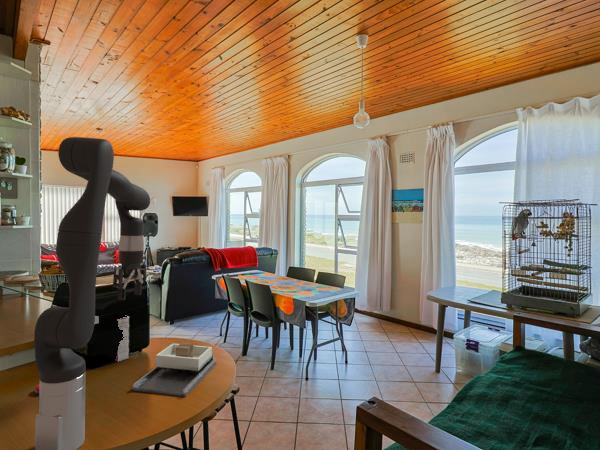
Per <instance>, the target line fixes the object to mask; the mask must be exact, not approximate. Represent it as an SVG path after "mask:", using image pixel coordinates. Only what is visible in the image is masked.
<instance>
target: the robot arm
mask: <svg viewBox="0 0 600 450" xmlns="http://www.w3.org/2000/svg"><path fill="white" fill-rule="evenodd" d="M57 153H58V154H57V155H58V160H59V162H60V164H61V166H62V167H63V168H64V169H65V170H66V171H68V173H70V174H73V175H76V176H78V177H79V178H81V179H84V180H86V181H87V183H86V186H85V189H84V191H83V193H82V194H81V196H80V198H79V199H78V200H77V201H76V202H75V203H74V205H72V207H71V208H70V209H69V210H68V212H66V214H65V215H64V216H63V218H62V219H61V221H60V223H59V225H58V230H57V237H56V243H55V244H56V246H55V253H56V259H57V261H58V263H59V266H60V268H61V270H62V272H63V273H64V276H65V279H66V281H67V285H68V289H69V302H68V307H64V306H62V307H61V306H53V307H48V308H47V309H45V310H44V311H43V312H41V313H40V315H39V316H38V318H37V320H36V322H35V325H34V335H33V343H34V355H35V358H34V359H35V367H36V370H37V372H38V374H39V375H38V376H39V384H40V392H39V394H38V396H39V401H38V402H39V403H38V404H39V405H38V406H39V407H38V409H39V410H38V411H39V412H38V413H37V414H35V425H34V426H35V431H34V432H35V436H34V438H35V442H34V443H35V444H34V445H35V447H34V450H79V448H81V447H82V446H83V444H84V443H85V439H86V438H85V437H86V370H87V369H86V360H85V358H84V357H82V356H80V355H79V354H77V353H75V351H73V350H79V349H82V348H84V347H85V346H86V345H87V344H88V343H89V342H90V340H91V338H92V335H93V332H94V329H95V328H94V327H95V320H96V287H97V286H96V285H97V283H96V282H97V274H98V265H99V255H100V251H101V246H102V245H101V243H102V235H103V224H104V217H105V215H104V214H105V207H106V201H107V197H108V195H109V196H110V197H112V198H113V199H114V202H115V207H116V210H117V214H118V218H119V223H120V230H119V232H120V233H119V235H120V236H119V241H118V242H119V243H118V263H119V264H120V265H121V266H120V268H114V269H113V278H112V279H113V280H112V287H113V288H115V289H116V288H117V299H118V301H125V300H126V299H127V298H126V295H127V294H126V293H127V289H126V287H127V286H128V284H129V283H130V282H131V281H132V280H133V282H134V295H135V296H140V295H142V291H143V290H142V289H143V287H142V285H143V284H144V282H147V264H143V262H144V254H145V253H144V251H145V250H144V249H145V245H144V244H145V241H144V220H143V219H142V218H139V217H135V216H133V215H132V214H131V211H135V212H137V211H139V212H141V211H145V210H146V209H148V208H149V207H150V204H151V198H150V195H149V193H148V191H146V190H145V189H144V188H142V187H141V186H139V185H137V184H135V183H132V182H131V181H130V180H129V179H128V178H127V177H126V176H125V175H124V174H122V173H121V172H119V171H117V170H115V169H113V168H114V161H115V160H114V159H115V153H114V148H113V144H111V142H110V141H109V140H107V139H106V138H105V139H104V138H96V137H82V136H72V137H71V136H69V137H66V138H64V139H63V140H62V141H61V142H60V144H59V147H58V152H57Z"/></svg>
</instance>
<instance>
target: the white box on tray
mask: <svg viewBox="0 0 600 450" xmlns="http://www.w3.org/2000/svg"><path fill="white" fill-rule="evenodd" d="M180 344H181V343H171V344H170V345H169V346H167V347H165V348H164V349H163V350H161V351H159V353H157V354H155V367H162V369H163V370H166V369H167V368H174V369H184V370H191V371H192V372H193V373H196V372H197V371H199V370H200V369H201V368H202V367H203V366H204V365H205V364H206V363H207V362H208V361H209V360H210V359H211V358H212V354H213V347H212V346H204V345H194V344H193V358H190V357H180V356H176V347H177V346H178V345H180Z"/></svg>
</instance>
